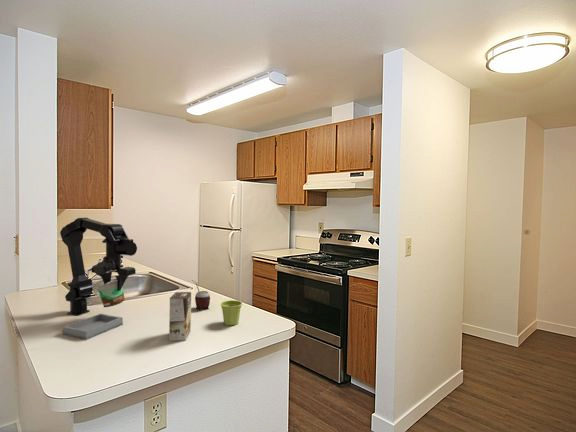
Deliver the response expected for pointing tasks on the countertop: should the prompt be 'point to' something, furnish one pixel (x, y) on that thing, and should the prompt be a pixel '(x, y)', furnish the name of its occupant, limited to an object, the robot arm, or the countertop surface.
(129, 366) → the countertop surface
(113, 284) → the food container
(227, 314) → the plant pot
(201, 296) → the mate gourd
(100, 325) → the tray
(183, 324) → the coffee box
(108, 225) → the robot arm
